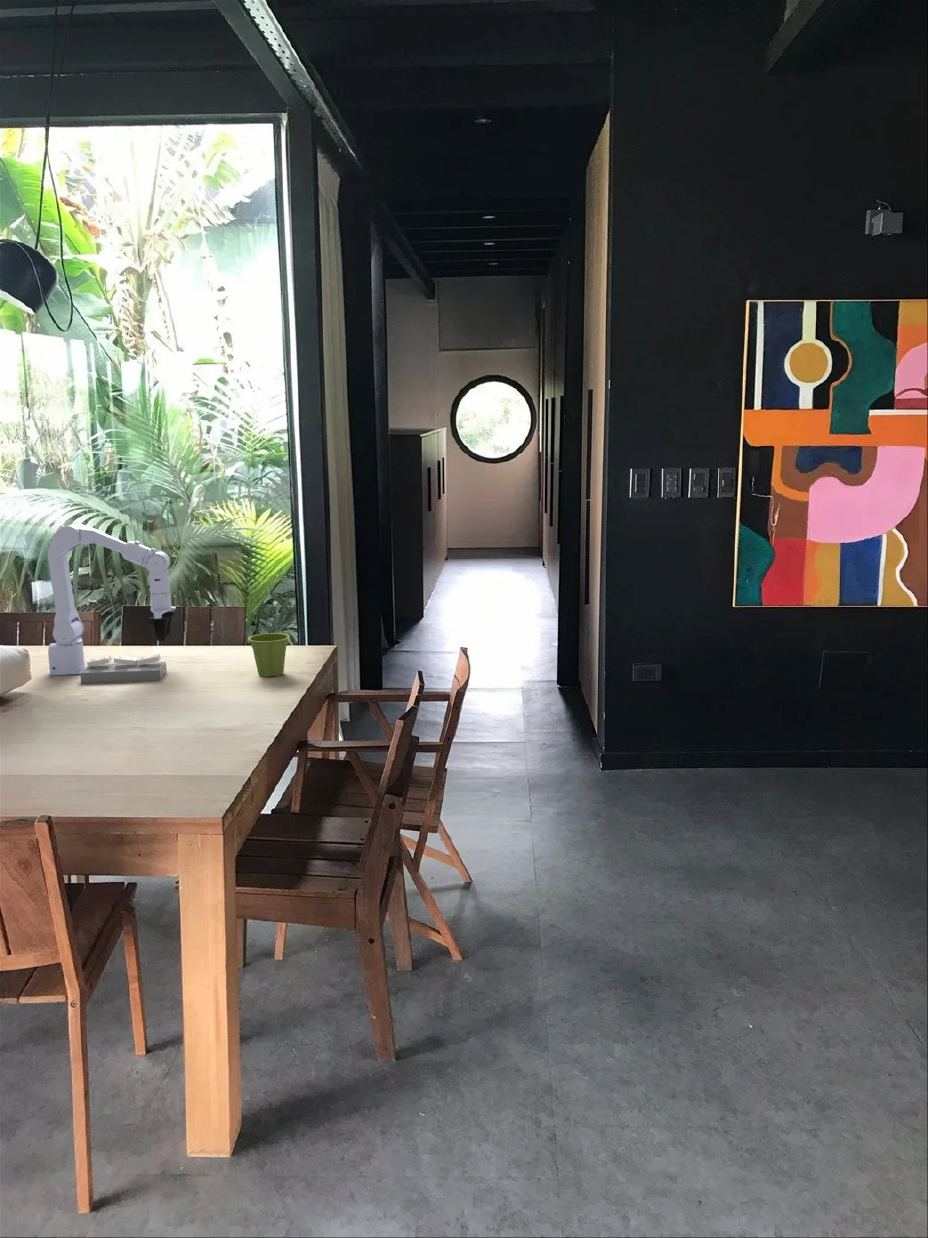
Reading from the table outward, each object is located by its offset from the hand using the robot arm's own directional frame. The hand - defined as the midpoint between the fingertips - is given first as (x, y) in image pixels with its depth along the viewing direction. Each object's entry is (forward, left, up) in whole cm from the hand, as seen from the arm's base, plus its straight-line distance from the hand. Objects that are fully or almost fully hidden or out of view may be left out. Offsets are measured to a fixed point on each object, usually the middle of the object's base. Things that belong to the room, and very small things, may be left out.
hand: (163, 637), depth 289 cm
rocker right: (-3, -6, -7) cm, 9 cm away
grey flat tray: (-10, -8, -10) cm, 16 cm away
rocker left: (-17, -6, -7) cm, 19 cm away
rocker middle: (-10, -6, -7) cm, 14 cm away
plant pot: (+32, -10, -10) cm, 35 cm away
